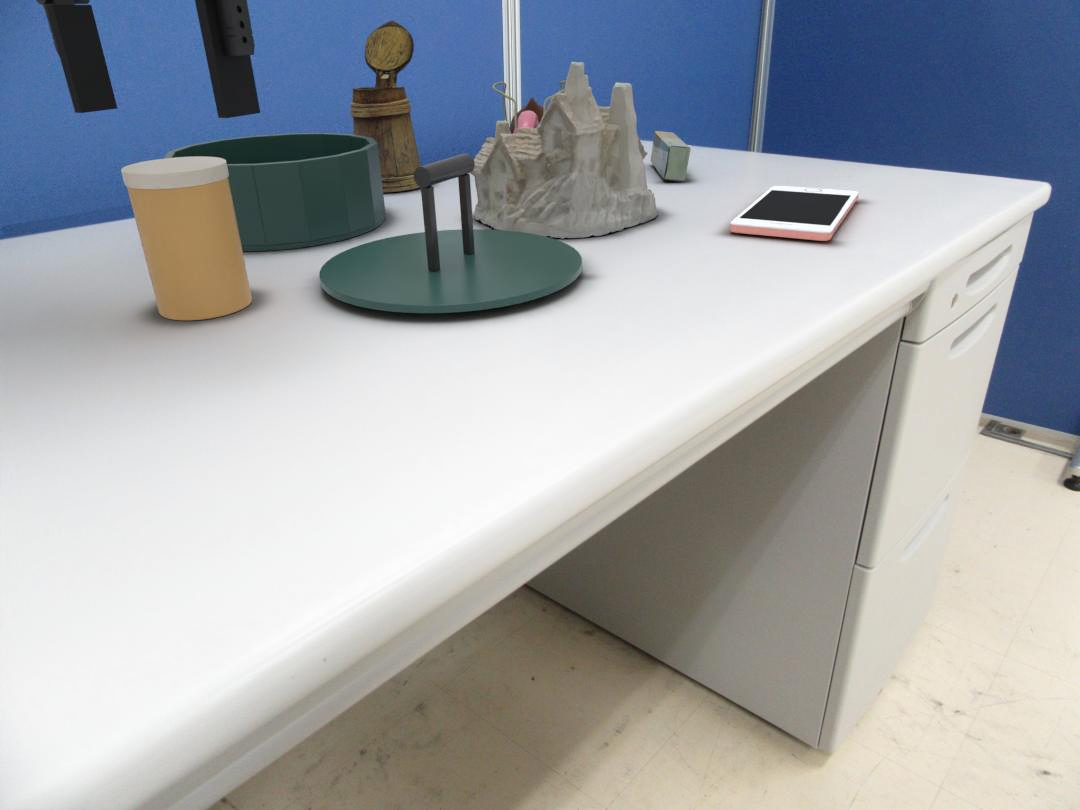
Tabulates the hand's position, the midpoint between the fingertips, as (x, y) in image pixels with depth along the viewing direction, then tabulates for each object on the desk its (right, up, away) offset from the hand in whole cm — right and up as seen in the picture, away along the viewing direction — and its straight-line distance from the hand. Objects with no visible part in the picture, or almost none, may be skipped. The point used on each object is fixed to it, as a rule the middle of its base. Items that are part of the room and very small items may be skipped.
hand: (164, 113), depth 52 cm
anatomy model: (+24, +11, +50) cm, 57 cm away
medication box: (+41, +10, +47) cm, 63 cm away
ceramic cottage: (+27, 0, +28) cm, 39 cm away
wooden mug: (+7, +8, +46) cm, 48 cm away
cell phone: (+50, -1, +25) cm, 56 cm away
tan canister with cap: (0, -12, +6) cm, 13 cm away
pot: (-1, -1, +28) cm, 28 cm away
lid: (+18, -8, +11) cm, 22 cm away
